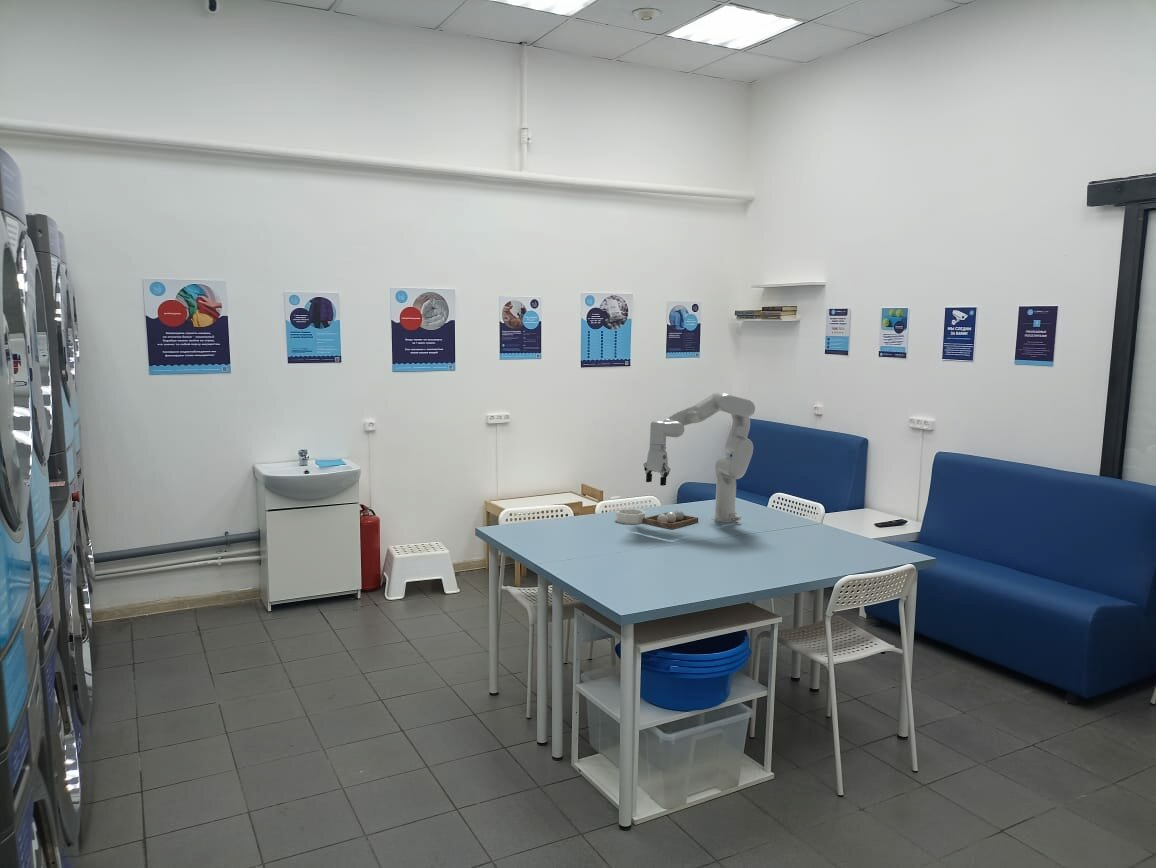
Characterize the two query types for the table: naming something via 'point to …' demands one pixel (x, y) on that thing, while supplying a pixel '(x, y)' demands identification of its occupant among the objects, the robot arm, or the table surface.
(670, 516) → the pebble
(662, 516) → the white ball
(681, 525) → the tray
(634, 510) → the bowl
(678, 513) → the pebble
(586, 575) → the table surface
